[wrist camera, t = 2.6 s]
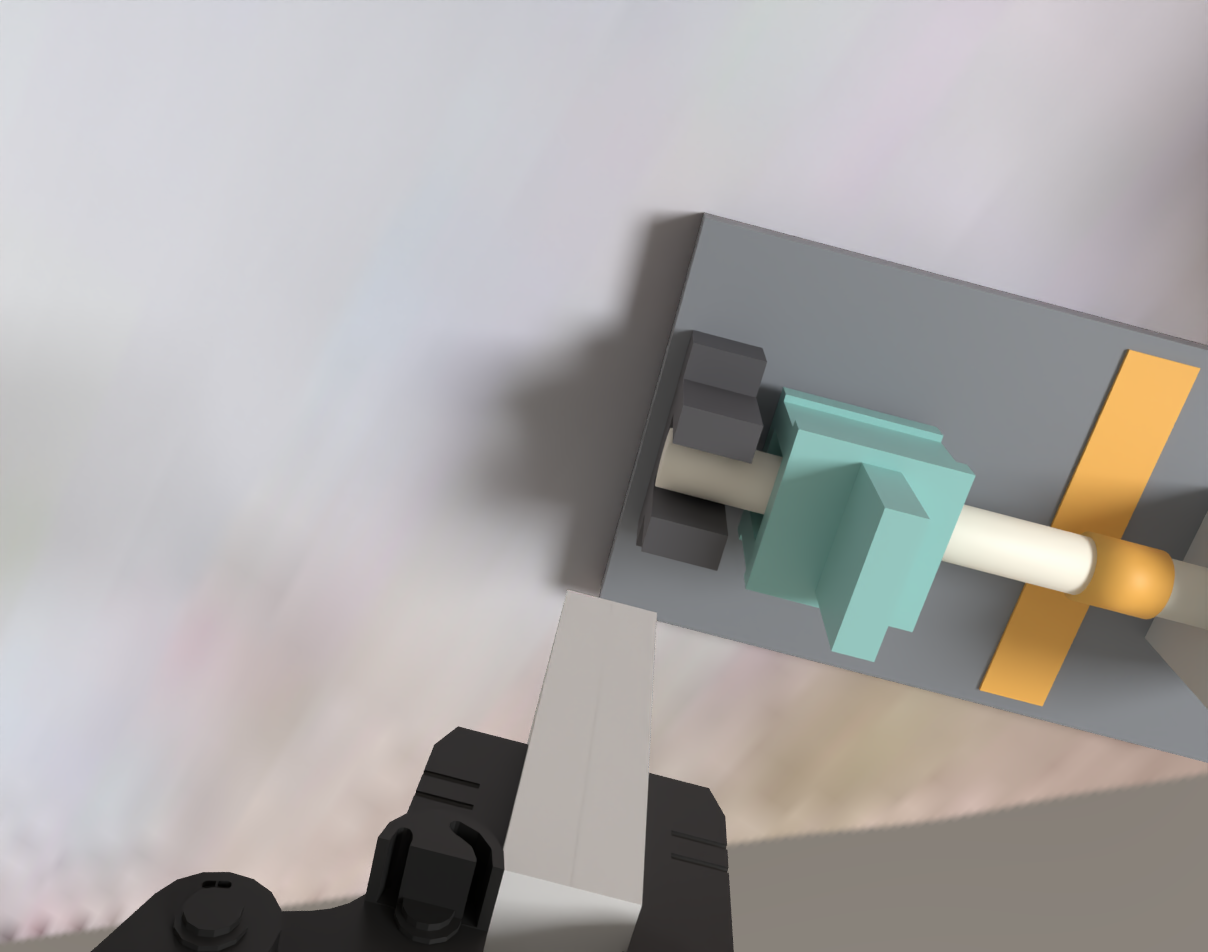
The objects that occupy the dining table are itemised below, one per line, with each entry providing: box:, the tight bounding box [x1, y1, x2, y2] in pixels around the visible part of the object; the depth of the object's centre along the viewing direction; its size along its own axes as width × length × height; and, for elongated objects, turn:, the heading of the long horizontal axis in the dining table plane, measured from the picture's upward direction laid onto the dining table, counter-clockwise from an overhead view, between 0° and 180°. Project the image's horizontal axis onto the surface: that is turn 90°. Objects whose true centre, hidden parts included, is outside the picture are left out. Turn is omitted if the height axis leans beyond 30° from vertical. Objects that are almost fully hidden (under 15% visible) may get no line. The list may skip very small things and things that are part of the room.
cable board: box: [599, 213, 1208, 763], centre depth 28 cm, size 12×20×7 cm, turn 76°
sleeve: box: [738, 387, 976, 662], centre depth 26 cm, size 4×4×7 cm
